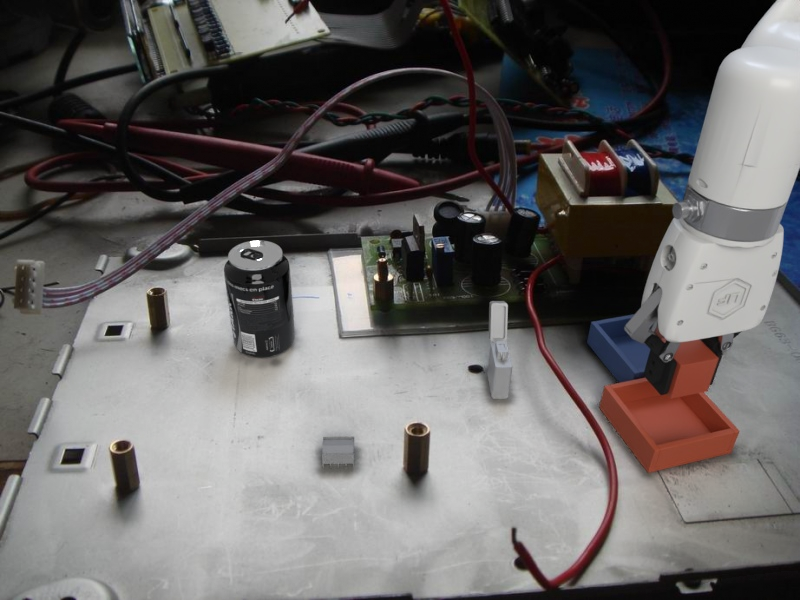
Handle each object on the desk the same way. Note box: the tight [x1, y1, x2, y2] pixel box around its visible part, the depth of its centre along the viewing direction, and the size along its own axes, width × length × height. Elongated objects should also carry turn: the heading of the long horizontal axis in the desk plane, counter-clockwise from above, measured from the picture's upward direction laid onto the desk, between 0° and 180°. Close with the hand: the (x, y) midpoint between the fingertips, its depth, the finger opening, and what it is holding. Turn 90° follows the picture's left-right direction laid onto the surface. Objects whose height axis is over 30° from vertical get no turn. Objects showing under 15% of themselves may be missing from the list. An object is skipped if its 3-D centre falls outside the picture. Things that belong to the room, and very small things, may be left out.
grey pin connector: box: [321, 436, 356, 470], centre depth 70 cm, size 3×2×2 cm
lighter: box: [486, 300, 514, 400], centre depth 79 cm, size 7×2×8 cm, turn 2°
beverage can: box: [223, 240, 296, 359], centre depth 81 cm, size 7×7×12 cm
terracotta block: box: [661, 338, 719, 399], centre depth 70 cm, size 4×4×4 cm
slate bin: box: [586, 313, 664, 383], centre depth 83 cm, size 9×9×3 cm
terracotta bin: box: [598, 378, 740, 474], centre depth 74 cm, size 9×9×3 cm
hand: (677, 379), depth 71 cm, fingers closed on terracotta block, 4 cm apart
